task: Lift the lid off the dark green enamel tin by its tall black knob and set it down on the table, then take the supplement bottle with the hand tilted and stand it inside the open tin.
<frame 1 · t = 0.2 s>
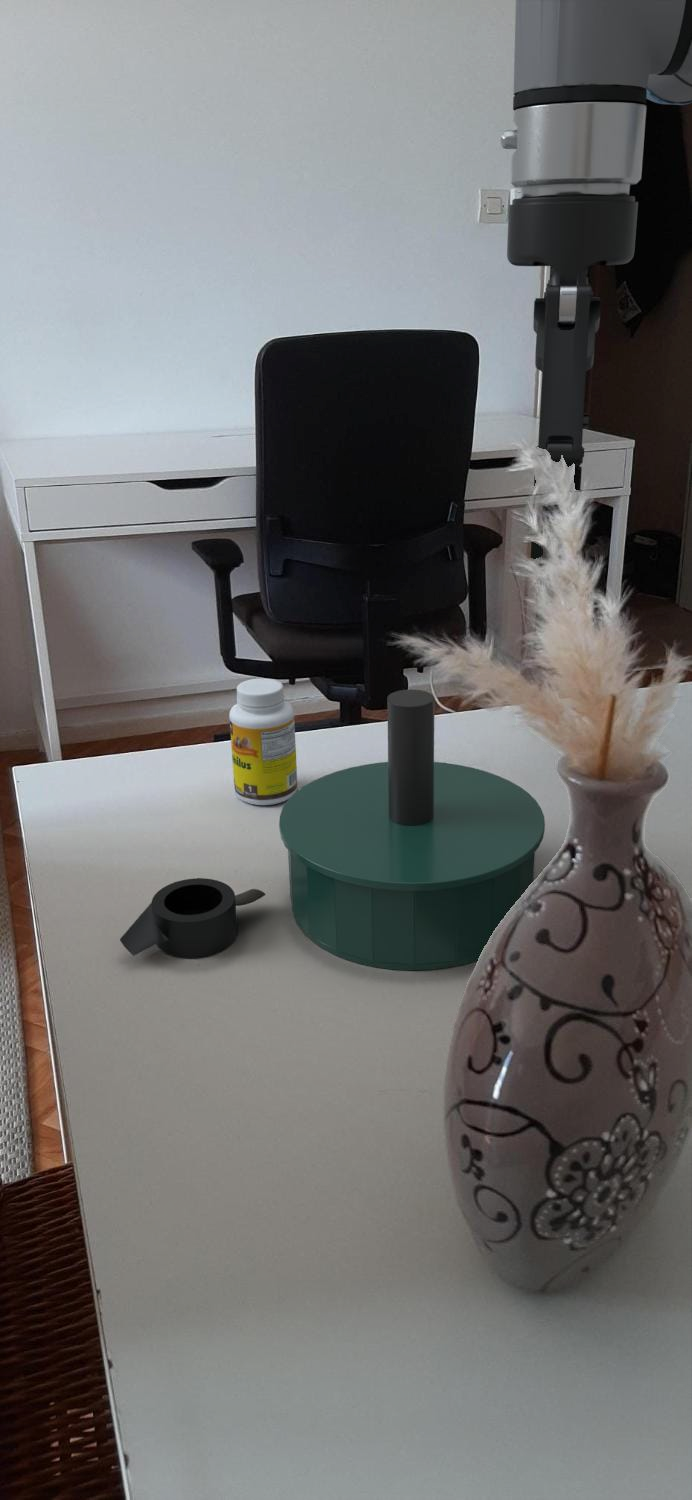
hand: (553, 548, 76), 26 cm above the table, tool pointing down, fingers open, 13 cm apart
tin: (411, 901, 85), on the table
lid: (411, 822, 82), point 6 cm above the table, touching tin
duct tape: (196, 937, 81), on the table
supplement bottle: (266, 795, 102), on the table
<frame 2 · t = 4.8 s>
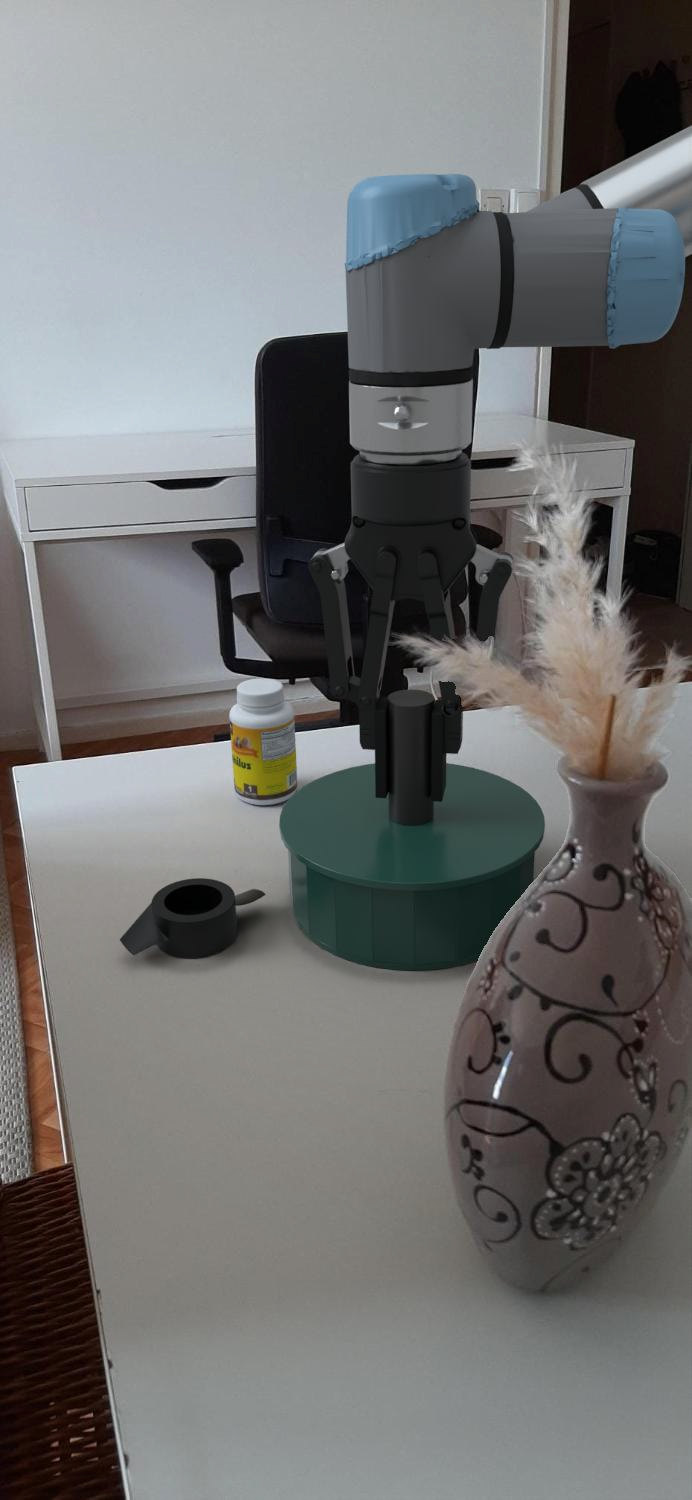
hand: (411, 790, 81), 9 cm above the table, tool pointing down, fingers closed on lid, 3 cm apart
lid: (411, 822, 82), point 6 cm above the table, touching gripper, tin
everything else where it was.
when the fingers open (3 cm above the table, at t = 12.4 s): lid stays where it is, point 1 cm above the table.
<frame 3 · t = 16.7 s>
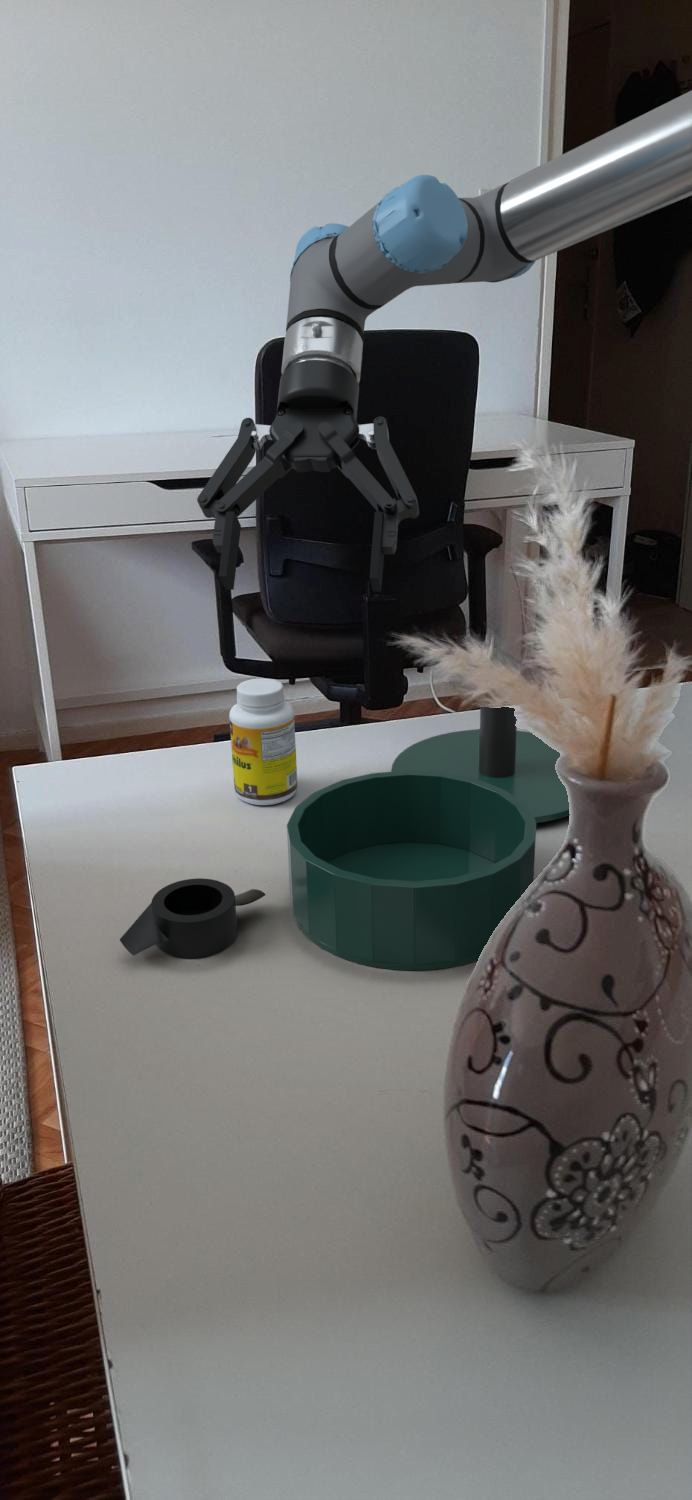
hand: (299, 584, 103), 17 cm above the table, tool tilted 40°, fingers open, 13 cm apart
lid: (496, 776, 102), point 1 cm above the table
everything else where it was.
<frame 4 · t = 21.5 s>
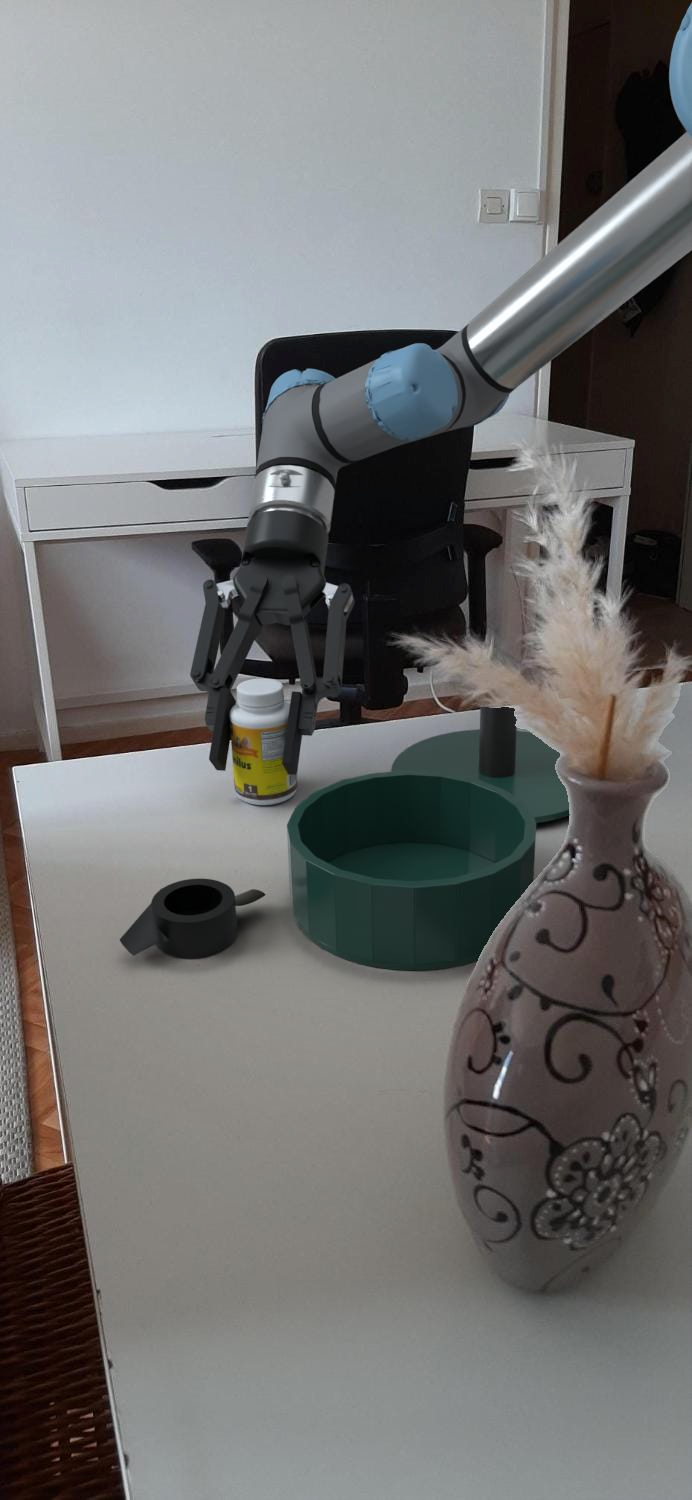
hand: (253, 766, 97), 4 cm above the table, tool tilted 45°, fingers closed on supplement bottle, 6 cm apart
supplement bottle: (266, 795, 102), on the table, touching gripper
everything else where it was.
when the fingers open (5 cm above the table, at t = 30.3 s): supplement bottle stays where it is, resting on tin.
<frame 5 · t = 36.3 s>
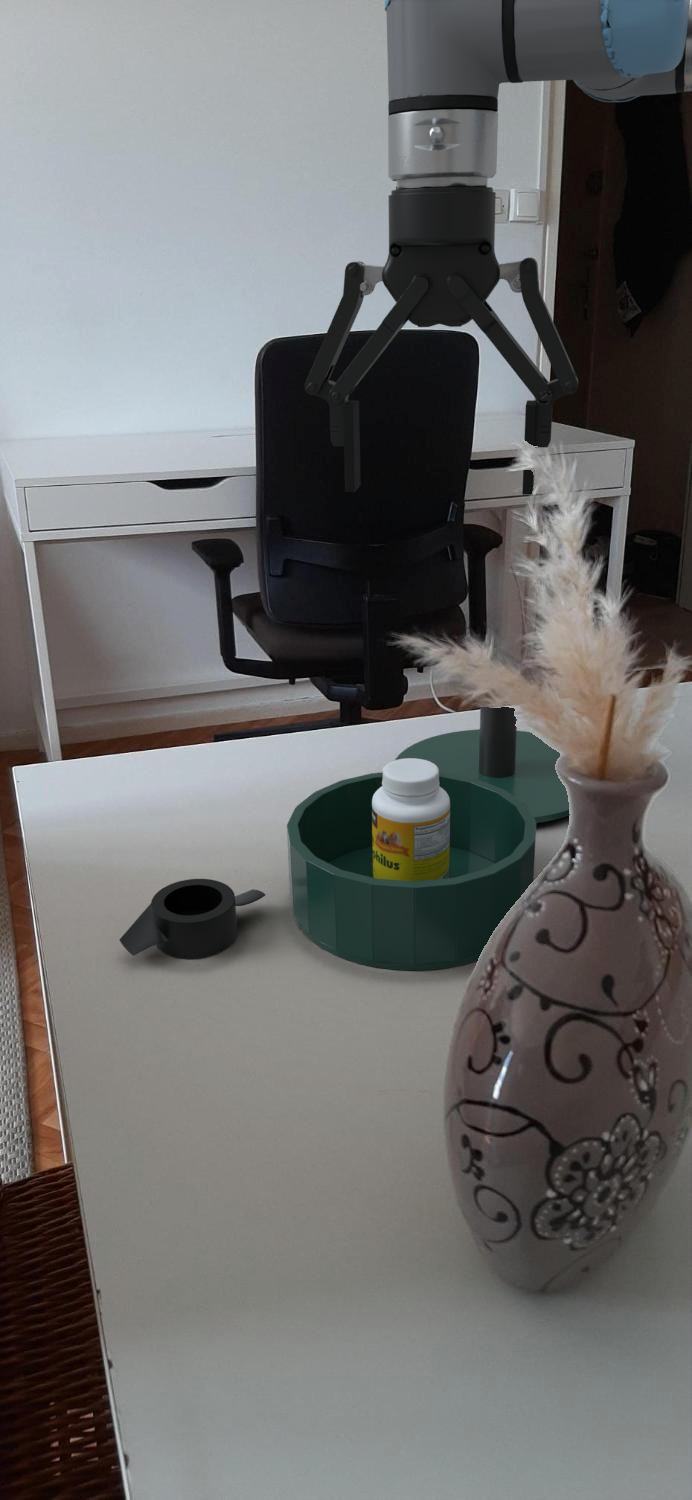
hand: (439, 490, 89), 27 cm above the table, tool pointing down, fingers open, 13 cm apart
supplement bottle: (410, 897, 85), resting on tin
everything else where it was.
at the end: lid inside the target area (0.1 cm from its centre), point 0.6 cm above the table; supplement bottle inside the target area in the tin (0.1 cm from its centre), point 0.3 cm above the tin's base; supplement bottle tilted 0° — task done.
